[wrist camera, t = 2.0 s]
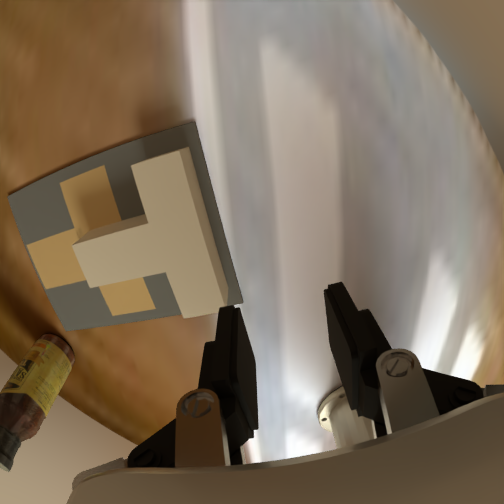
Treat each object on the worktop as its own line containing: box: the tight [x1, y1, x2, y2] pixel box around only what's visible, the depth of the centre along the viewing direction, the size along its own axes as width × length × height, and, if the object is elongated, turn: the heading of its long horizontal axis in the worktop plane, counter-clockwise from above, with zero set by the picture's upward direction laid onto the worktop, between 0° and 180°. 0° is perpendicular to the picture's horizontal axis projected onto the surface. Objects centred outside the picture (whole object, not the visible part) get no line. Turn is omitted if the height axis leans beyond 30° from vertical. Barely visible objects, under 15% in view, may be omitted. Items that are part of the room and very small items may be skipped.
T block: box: [72, 147, 229, 318], centre depth 26 cm, size 12×14×4 cm
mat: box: [8, 122, 243, 331], centre depth 29 cm, size 23×18×1 cm
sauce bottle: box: [0, 334, 75, 472], centre depth 25 cm, size 7×6×20 cm
